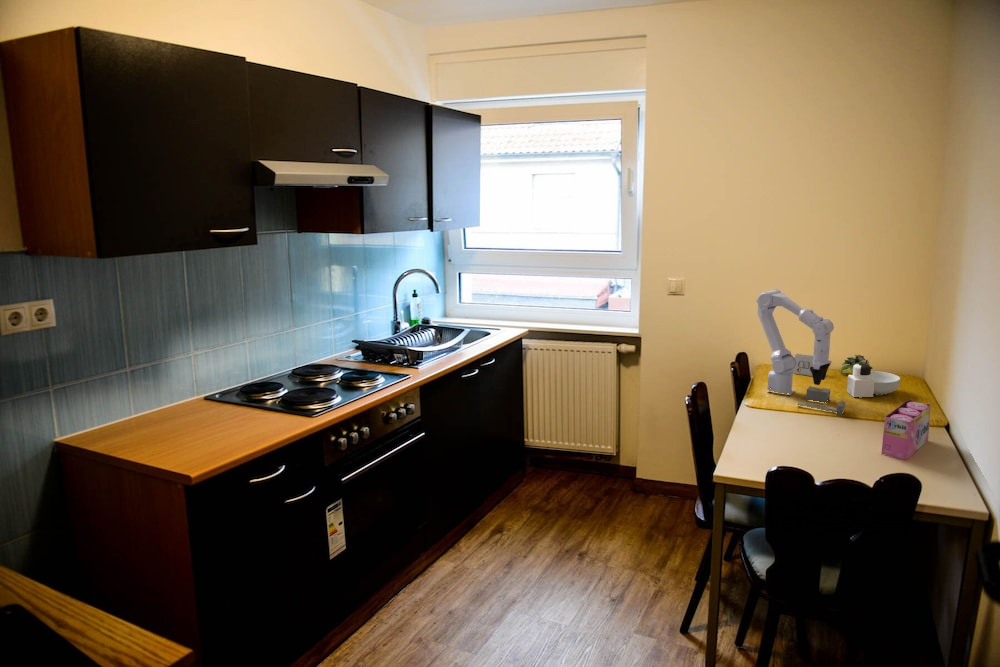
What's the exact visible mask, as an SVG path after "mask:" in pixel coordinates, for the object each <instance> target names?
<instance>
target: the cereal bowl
mask: <svg viewBox="0 0 1000 667" xmlns="http://www.w3.org/2000/svg"><path fill="white" fill-rule="evenodd" d="M870 377H871V378H872V379H874V380H875V382H874V394H881V395H880V396H884V395H883V394H885V395H887V394H890V393H893V392H895V391H896V390H897V389H898V388H899V387H900V384H901V377H900V376H898V375H896V374H894V373H890V372H885V371H877V370H871V374H870Z"/></svg>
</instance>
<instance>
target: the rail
mask: <svg viewBox="0 0 1000 667" xmlns="http://www.w3.org/2000/svg"><path fill="white" fill-rule="evenodd" d="M797 405H800V406H807V407H811V408H817V409H821V410H826V411H832V412H837V414H836V413H835V415H836V416H837V417H841V416H842V415H843V414H842V412H843V411H844V412H845V410H844V409H845V408H846V407H845V406H846V401H844V400H840V402H839V403H838V404H837V405H836V407H831V406H825V405H824V406H823V405H818V404H812V403H805V402H798V403H797ZM844 412H843V413H844ZM841 414H842V415H841Z"/></svg>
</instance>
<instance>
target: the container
mask: <svg viewBox="0 0 1000 667" xmlns="http://www.w3.org/2000/svg"><path fill="white" fill-rule="evenodd" d="M870 366H871V365H867V364H856V365H854V366H853V374H848V376H847V387H846V392H847V394H849V395H850V396H852V397H853V398H854V397H859V398H860V399H862V397H873V398H874V395H873V394H874V382H875V380H874V379H872V378H871V377H870V374H871V371H872V369H871V367H872V366H871V367H870ZM859 398H858V399H859Z"/></svg>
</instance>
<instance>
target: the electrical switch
mask: <svg viewBox="0 0 1000 667" xmlns="http://www.w3.org/2000/svg"><path fill="white" fill-rule="evenodd" d="M794 358H795V359H796V362H797V364H796V367H795V368H794V369H793V375H794V374H795V375H801V376H808V377H813V376H812V373H811V371H810V367H814V364H813V355H810V354H802V353H795V355H794Z"/></svg>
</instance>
